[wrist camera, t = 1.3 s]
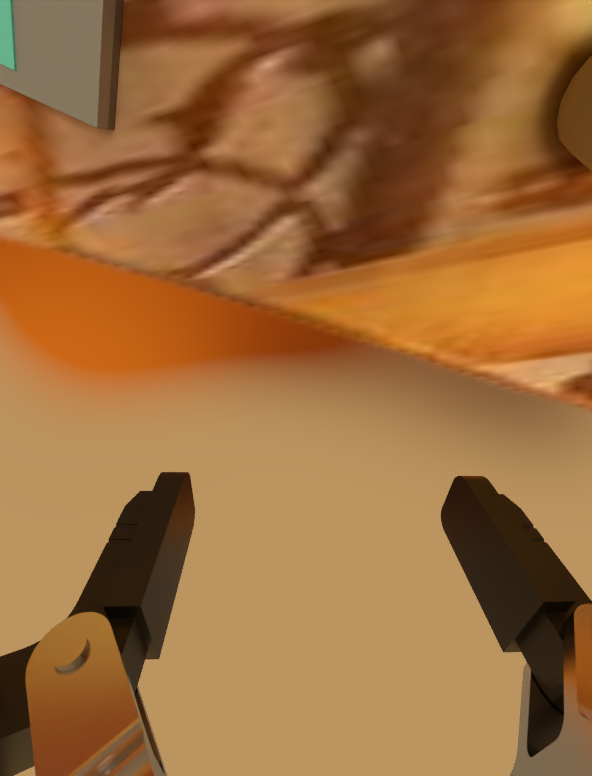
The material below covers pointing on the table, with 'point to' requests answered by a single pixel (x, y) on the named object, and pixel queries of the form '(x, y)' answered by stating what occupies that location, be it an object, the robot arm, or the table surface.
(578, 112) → the squeeze bottle
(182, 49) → the table surface
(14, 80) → the panel
